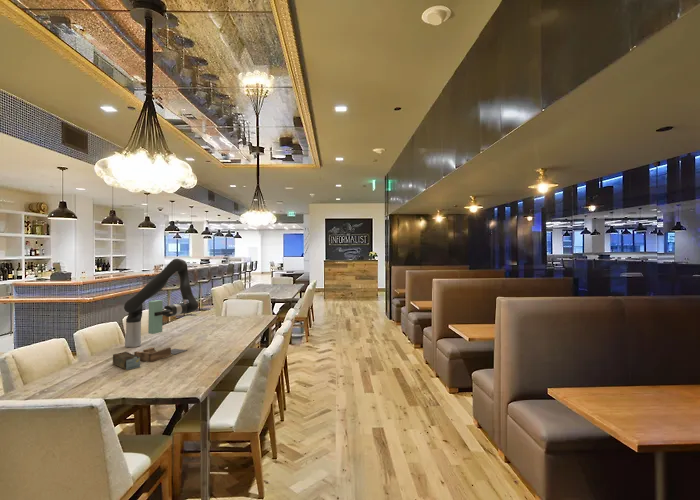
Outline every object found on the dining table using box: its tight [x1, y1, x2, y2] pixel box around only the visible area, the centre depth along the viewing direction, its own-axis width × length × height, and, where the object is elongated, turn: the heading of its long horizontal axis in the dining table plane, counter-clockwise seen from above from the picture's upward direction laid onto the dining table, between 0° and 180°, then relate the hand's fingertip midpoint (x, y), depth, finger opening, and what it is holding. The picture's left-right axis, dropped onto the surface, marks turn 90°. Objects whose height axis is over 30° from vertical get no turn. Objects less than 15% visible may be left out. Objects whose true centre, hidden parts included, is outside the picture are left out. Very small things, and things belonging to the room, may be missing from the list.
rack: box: [133, 347, 172, 363], centre depth 240 cm, size 14×16×5 cm
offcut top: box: [142, 347, 156, 353], centre depth 240 cm, size 3×6×3 cm, turn 170°
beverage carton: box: [112, 351, 141, 371], centre depth 223 cm, size 8×19×7 cm, turn 52°
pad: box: [171, 348, 188, 356], centre depth 254 cm, size 11×11×1 cm
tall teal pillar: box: [147, 299, 164, 335], centre depth 239 cm, size 4×7×20 cm, turn 162°
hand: (152, 314), depth 236 cm, fingers closed on tall teal pillar, 4 cm apart
